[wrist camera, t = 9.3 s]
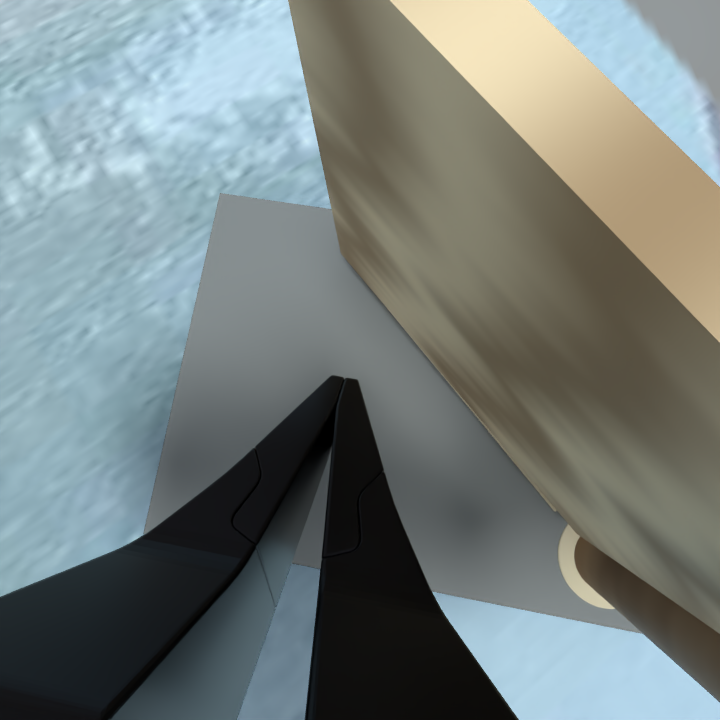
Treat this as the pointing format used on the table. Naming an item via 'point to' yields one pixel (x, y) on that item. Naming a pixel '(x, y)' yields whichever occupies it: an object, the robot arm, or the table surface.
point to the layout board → (384, 406)
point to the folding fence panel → (536, 260)
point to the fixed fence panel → (654, 615)
